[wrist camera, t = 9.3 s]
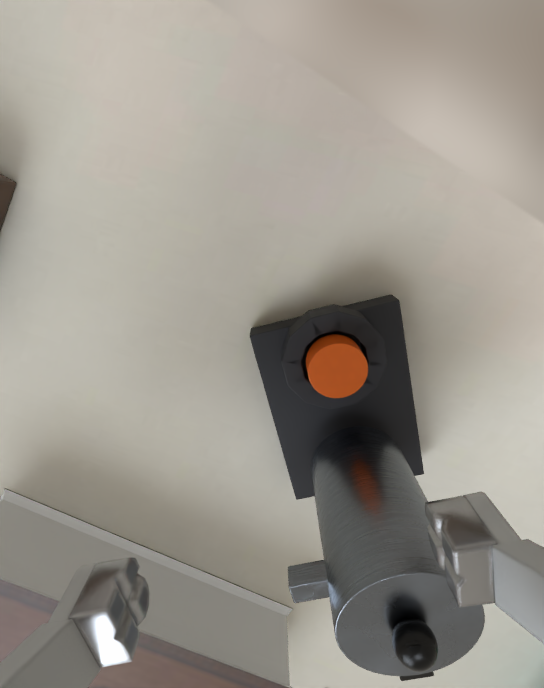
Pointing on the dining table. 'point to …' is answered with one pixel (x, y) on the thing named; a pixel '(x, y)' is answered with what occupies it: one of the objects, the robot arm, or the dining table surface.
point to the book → (163, 612)
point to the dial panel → (5, 195)
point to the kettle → (381, 561)
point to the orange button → (336, 366)
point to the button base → (337, 413)
